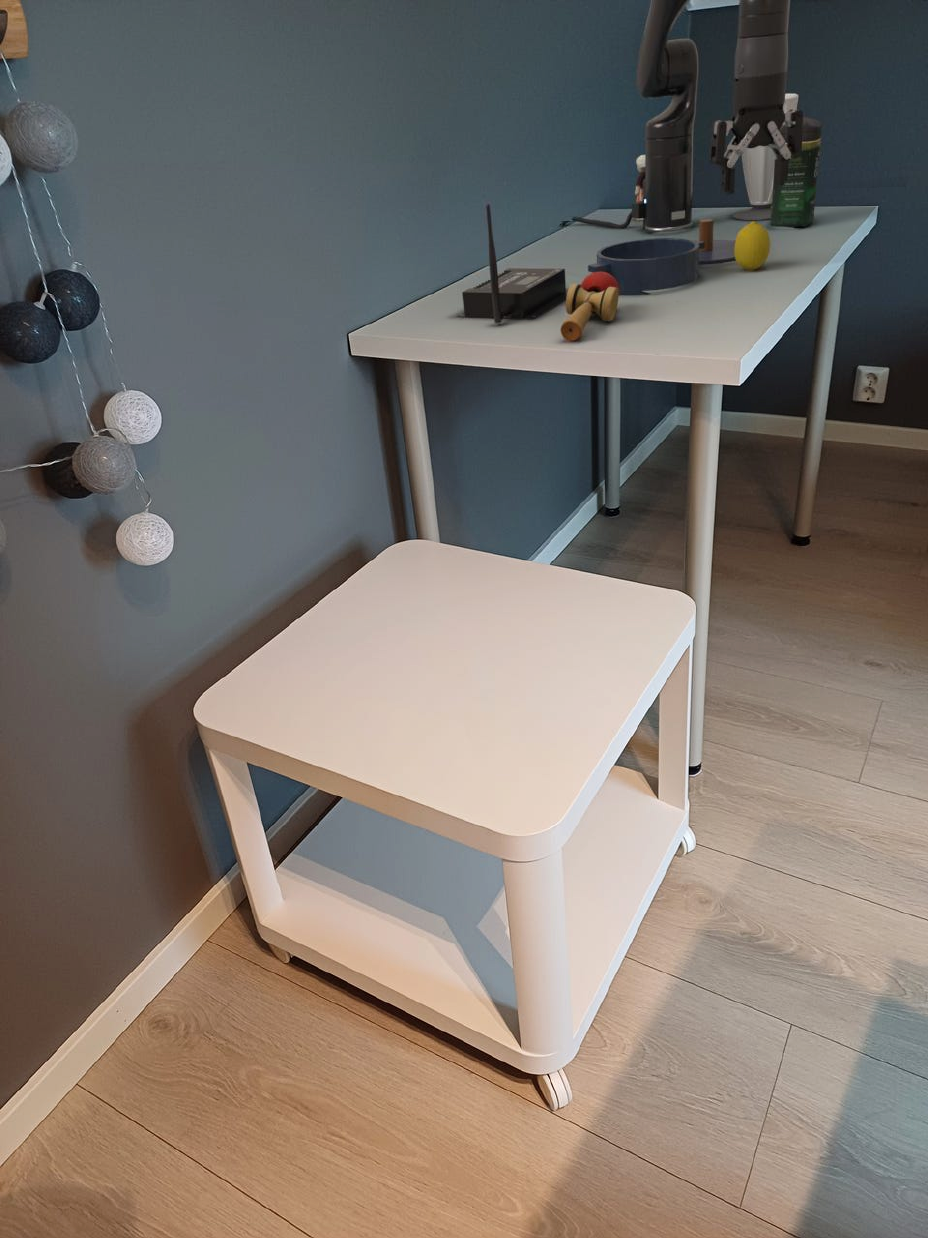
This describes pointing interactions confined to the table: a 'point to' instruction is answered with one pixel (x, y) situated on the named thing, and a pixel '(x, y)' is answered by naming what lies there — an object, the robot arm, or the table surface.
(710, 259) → the pan lid
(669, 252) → the pan
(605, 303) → the kendama
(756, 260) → the lemon
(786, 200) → the coffee jar
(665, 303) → the table surface
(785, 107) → the cup
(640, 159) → the grandmother figurine
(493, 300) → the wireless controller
